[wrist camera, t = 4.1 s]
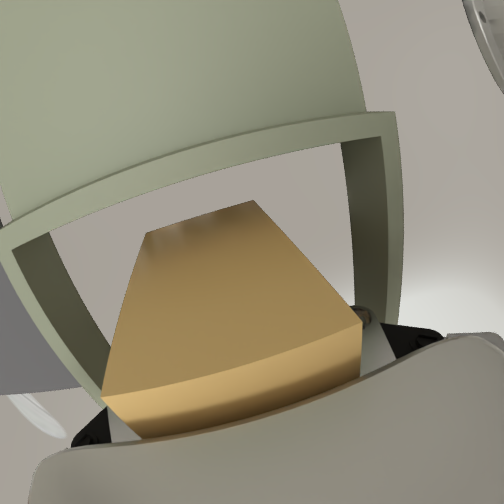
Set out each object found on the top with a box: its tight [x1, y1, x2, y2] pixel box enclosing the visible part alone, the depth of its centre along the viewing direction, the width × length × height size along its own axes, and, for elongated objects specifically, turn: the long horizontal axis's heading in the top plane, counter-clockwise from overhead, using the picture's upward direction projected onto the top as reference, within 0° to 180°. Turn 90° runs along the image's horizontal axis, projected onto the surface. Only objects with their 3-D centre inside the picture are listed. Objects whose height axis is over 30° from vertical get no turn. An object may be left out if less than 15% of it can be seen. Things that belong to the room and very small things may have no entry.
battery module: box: [100, 200, 363, 439], centre depth 9 cm, size 4×7×9 cm, turn 14°
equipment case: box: [0, 0, 404, 409], centre depth 9 cm, size 15×26×3 cm, turn 14°
